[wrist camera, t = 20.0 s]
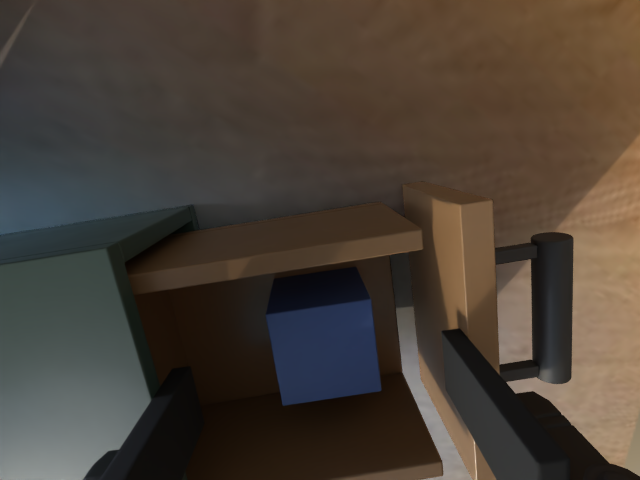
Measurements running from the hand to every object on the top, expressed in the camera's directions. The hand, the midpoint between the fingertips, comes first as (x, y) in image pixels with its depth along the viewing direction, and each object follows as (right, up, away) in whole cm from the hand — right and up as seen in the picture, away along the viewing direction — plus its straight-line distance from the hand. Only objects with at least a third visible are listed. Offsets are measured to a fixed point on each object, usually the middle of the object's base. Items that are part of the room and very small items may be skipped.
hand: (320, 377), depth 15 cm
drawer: (+1, +2, +7) cm, 7 cm away
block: (0, +2, +6) cm, 6 cm away
